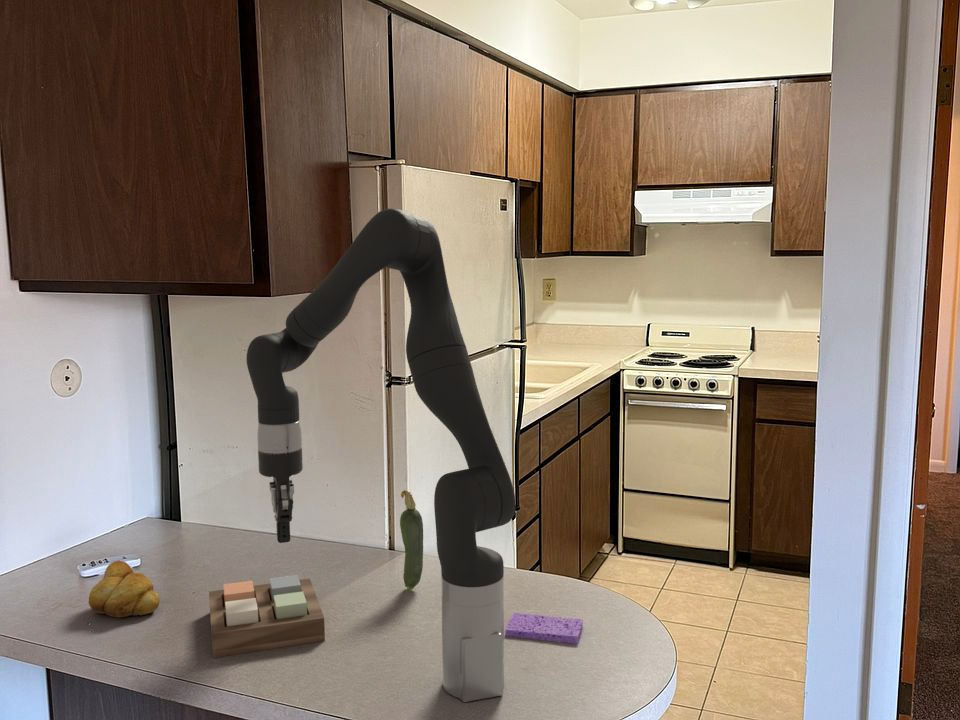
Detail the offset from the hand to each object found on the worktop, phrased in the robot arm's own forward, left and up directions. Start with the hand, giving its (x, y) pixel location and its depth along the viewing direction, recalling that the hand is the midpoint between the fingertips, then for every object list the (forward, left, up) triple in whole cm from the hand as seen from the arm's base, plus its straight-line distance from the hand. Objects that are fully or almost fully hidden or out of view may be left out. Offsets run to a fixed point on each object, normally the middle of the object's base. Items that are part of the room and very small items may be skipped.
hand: (283, 541), depth 152 cm
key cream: (-8, +8, -11) cm, 16 cm away
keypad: (-4, +4, -14) cm, 15 cm away
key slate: (0, 0, -11) cm, 11 cm away
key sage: (-8, 0, -11) cm, 13 cm away
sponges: (-22, -41, -14) cm, 49 cm away
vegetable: (+2, -24, -14) cm, 28 cm away
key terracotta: (0, +8, -11) cm, 13 cm away
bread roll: (+11, +28, -14) cm, 33 cm away
